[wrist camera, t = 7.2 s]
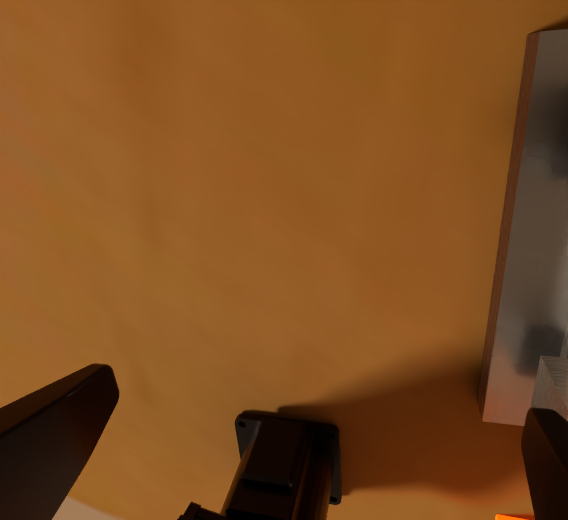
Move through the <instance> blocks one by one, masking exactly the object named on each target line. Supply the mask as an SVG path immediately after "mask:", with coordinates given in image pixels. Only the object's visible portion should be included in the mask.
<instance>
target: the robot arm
mask: <svg viewBox="0 0 568 520" xmlns="http://www.w3.org/2000/svg"><path fill="white" fill-rule="evenodd" d="M118 399H119V389H118V386H117V382H116V379H115V376H114V372H113V369H112V368H111V367H110V366H109V365H107V364H97V363H96V364H91V365H89V366H87V367H84V368H82V369H80V370H78V371H76V372H74V373H72V374H70V375H68V376H66V377H64V378H62V379H60V380H58V381H55V382H53V383H51V384H49V385H47V386H45V387H43V388H41V389H39V390H37V391H35V392H33V393H31V394H29V395H26V396H24V397H22V398H20V399H18V400H16V401H14V402H12V403H10V404H8V405H6V406H4V407H2V408H0V520H52V518H53V517H54V515H55V514H56V512H57V510H58V509H59V507H60V506H61V504H62V502H63V501H64V499H65V497H66V496H67V494H68V493H69V491H70V489H71V488H72V486H73V485H74V483H75V481H76V480H77V478H78V476H79V475H80V473H81V472H82V470H83V468H84V467H85V465H86V463H87V461H88V460H89V458H90V456H91V454H92V452H93V450H94V448H95V446H96V444H97V442H98V440H99V438H100V436H101V434H102V432H103V430H104V428H105V426H106V424H107V422H108V420H109V418H110V416H111V414H112V412H113V410H114V408H115V406H116V404H117V402H118ZM242 421H243V422H242ZM244 422H245V423H244ZM235 428H236V434H237V440H238V446H239V452H240V458H241V461H240V464H239V466H238V469H237V471H236V474H235V477H234V479H233V482H232V484H231V487H230V489H229V492H228V494H227V497H226V500H225V502H224V505H223V507H222V510H221V512H220V514H219V513H216V512H213V511H210V510H207V509H204V508H202V507H201V505H199V504H196V503H193V502H191V503H190V505H189V506H188V508H187V510H186V511H185V513H184V515H180V517H179V519H177V520H326V518H327V512H328V505H329V504H333V505H337V504H340V503H341V498H342V484H341V454H340V431H339V429H338V427H337V426H335V425H332V424H325V423H316V422H308V421H300V420H292V419H284V418H276V417H267V416H259V415H251V414H239V415H238V416H237V418H236V420H235ZM330 433H333V434H330ZM521 447H522V455H523V460H524V465H525V470H526V475H527V480H528V485H529V490H530V495H531V500H532V505H533V510H534V516H535V520H568V421H567V420H566V419H565V418H564V417H563V416H561V415H560V414H559V413H558V412H557V411H555V410H553V409H547V408H537V407H532V408H530V409H529V410H528V411H527V415H526V420H525V425H524V430H523V435H522V441H521Z"/></svg>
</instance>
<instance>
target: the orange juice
mask: <svg viewBox="0 0 568 520" xmlns="http://www.w3.org/2000/svg"><path fill="white" fill-rule="evenodd" d="M495 520H527V519H521V518H515V517H510V516H504V515H499V514H497V515H496V519H495Z"/></svg>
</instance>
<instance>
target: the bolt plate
mask: <svg viewBox="0 0 568 520" xmlns="http://www.w3.org/2000/svg"><path fill="white" fill-rule="evenodd" d="M477 402H478V406H479V410H480V414H481V418H482V421H483V422H492V423H501V424H510V425H519V426H524V425H525V420H526V415H527V411H528V410H529V409H530V408H532V407H537V408H547V409H553V410H555V411H557V412H558V413H559V414H560V415H561V416H563V417H564V418H565V419H566V420H567V421H568V29H562V30H552V31H541V32H536V33H532V34H528V36H527V43H526V50H525V57H524V64H523V72H522V79H521V86H520V93H519V101H518V108H517V115H516V122H515V129H514V137H513V144H512V151H511V158H510V166H509V173H508V180H507V187H506V195H505V202H504V209H503V216H502V223H501V231H500V238H499V245H498V252H497V260H496V267H495V274H494V281H493V288H492V296H491V303H490V310H489V317H488V325H487V332H486V339H485V346H484V353H483V361H482V368H481V375H480V382H479V390H478V397H477Z"/></svg>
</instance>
